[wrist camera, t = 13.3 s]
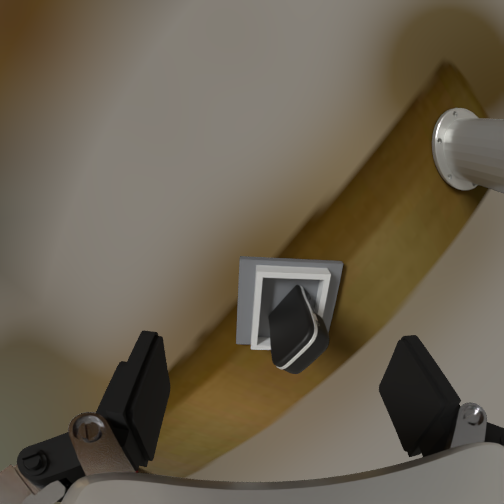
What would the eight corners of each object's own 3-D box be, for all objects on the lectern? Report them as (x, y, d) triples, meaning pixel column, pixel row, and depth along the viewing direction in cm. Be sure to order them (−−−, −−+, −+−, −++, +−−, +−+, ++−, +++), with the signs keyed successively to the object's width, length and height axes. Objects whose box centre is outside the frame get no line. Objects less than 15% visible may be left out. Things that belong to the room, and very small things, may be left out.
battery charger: (286, 328, 43) (296, 383, 32) (265, 316, 42) (271, 371, 31) (317, 295, 41) (338, 346, 30) (297, 281, 40) (313, 331, 29)
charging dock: (341, 261, 40) (347, 270, 37) (324, 341, 45) (328, 353, 42) (239, 256, 39) (239, 265, 37) (236, 339, 44) (235, 352, 42)
